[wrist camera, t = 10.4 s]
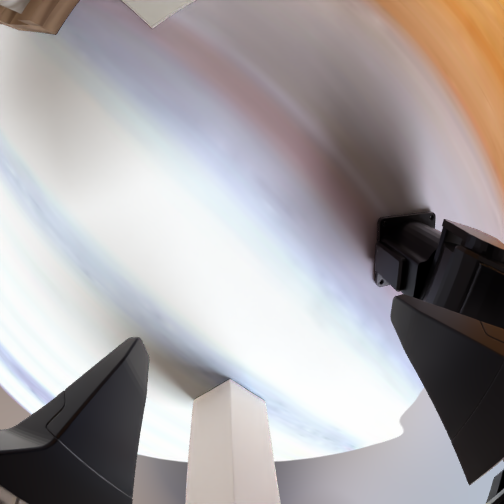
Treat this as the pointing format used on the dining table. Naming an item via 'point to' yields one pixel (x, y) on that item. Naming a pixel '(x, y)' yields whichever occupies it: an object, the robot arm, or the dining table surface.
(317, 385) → the dining table surface
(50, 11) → the white candle wooden holder
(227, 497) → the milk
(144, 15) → the grey mat
